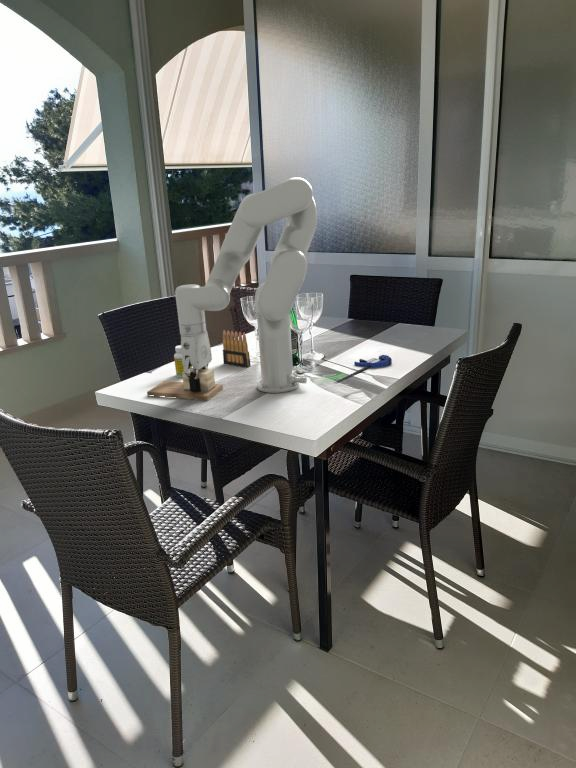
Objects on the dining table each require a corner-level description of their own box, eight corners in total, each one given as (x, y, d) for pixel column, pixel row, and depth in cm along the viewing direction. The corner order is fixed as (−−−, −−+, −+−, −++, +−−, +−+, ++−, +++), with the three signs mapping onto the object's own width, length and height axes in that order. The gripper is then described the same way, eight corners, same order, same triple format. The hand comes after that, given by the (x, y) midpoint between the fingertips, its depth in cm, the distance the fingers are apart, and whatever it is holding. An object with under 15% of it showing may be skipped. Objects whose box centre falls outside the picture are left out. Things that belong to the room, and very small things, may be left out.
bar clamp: (370, 351, 204) (395, 356, 197) (370, 358, 205) (395, 363, 198) (308, 381, 182) (335, 387, 175) (309, 389, 183) (336, 395, 176)
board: (222, 389, 183) (222, 384, 182) (207, 400, 174) (207, 395, 174) (164, 385, 190) (164, 381, 189) (147, 396, 181) (147, 391, 180)
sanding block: (215, 387, 180) (213, 369, 179) (208, 392, 176) (206, 374, 175) (191, 385, 183) (189, 368, 181) (184, 390, 179) (182, 372, 177)
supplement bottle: (177, 378, 196) (173, 349, 193) (175, 373, 201) (172, 345, 198) (193, 376, 197) (190, 347, 194) (191, 371, 202) (188, 343, 199)
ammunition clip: (223, 363, 209) (220, 329, 205) (227, 362, 210) (223, 328, 206) (247, 367, 202) (244, 332, 199) (250, 366, 204) (247, 331, 200)
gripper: (190, 336, 165) (197, 399, 171) (217, 321, 180) (223, 380, 186) (166, 335, 168) (174, 397, 173) (195, 321, 183) (201, 378, 188)
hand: (199, 387), depth 180 cm, fingers closed on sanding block, 4 cm apart
